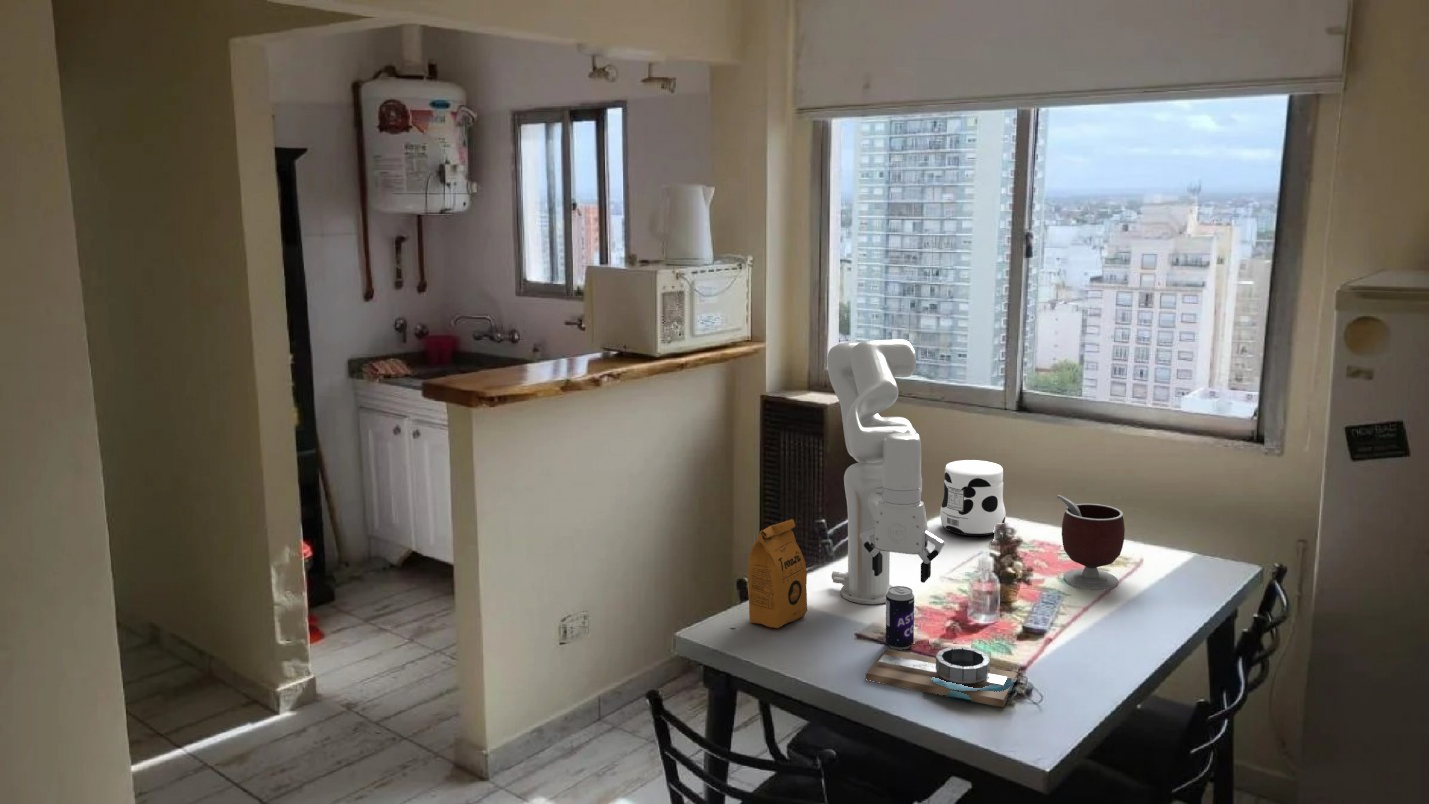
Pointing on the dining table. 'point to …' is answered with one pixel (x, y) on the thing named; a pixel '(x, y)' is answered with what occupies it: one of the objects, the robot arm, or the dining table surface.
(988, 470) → the milk container
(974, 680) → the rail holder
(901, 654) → the mount board
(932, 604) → the dining table surface
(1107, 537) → the mate gourd
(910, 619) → the beverage can
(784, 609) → the coffee package
